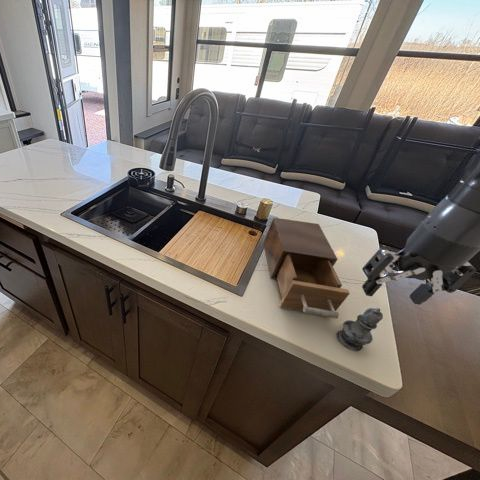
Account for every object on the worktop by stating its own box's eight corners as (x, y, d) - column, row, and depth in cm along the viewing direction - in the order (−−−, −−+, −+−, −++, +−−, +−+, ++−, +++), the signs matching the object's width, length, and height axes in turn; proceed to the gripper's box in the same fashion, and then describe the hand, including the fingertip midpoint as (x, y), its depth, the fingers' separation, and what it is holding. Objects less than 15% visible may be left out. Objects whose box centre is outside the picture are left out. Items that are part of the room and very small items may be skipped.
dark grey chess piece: (363, 357, 56) (398, 326, 49) (334, 342, 58) (362, 311, 51) (364, 337, 60) (396, 305, 52) (336, 324, 62) (363, 292, 55)
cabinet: (319, 286, 72) (337, 259, 65) (270, 278, 74) (283, 250, 67) (304, 249, 85) (318, 223, 78) (263, 243, 87) (273, 217, 80)
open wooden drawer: (338, 333, 59) (359, 310, 54) (283, 323, 61) (298, 300, 55) (314, 272, 75) (328, 250, 70) (271, 265, 77) (281, 243, 71)
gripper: (418, 237, 37) (358, 305, 47) (529, 253, 36) (443, 320, 46) (392, 211, 43) (344, 276, 53) (486, 223, 41) (418, 288, 52)
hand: (390, 296), depth 50 cm, fingers open, 8 cm apart
